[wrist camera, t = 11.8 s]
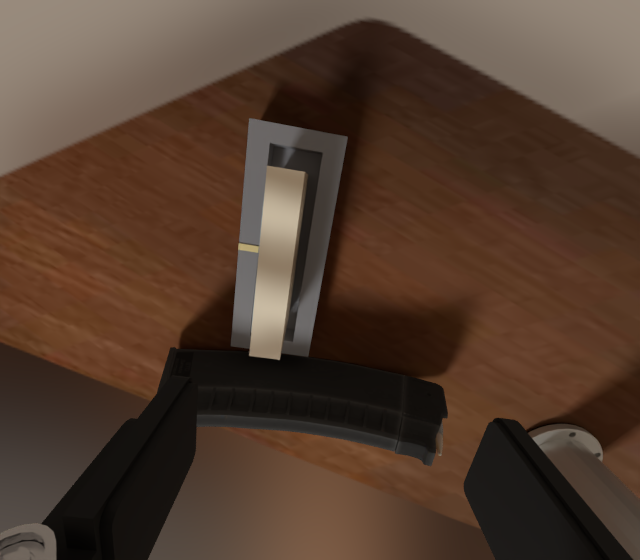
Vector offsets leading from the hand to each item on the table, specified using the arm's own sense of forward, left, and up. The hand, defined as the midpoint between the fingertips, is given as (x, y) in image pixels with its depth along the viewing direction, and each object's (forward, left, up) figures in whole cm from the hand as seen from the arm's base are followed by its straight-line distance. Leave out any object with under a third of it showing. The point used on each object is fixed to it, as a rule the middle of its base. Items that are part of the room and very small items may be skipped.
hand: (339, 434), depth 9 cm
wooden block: (+1, +4, -22) cm, 22 cm away
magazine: (-14, 0, -23) cm, 27 cm away
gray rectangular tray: (+1, +4, -23) cm, 23 cm away
